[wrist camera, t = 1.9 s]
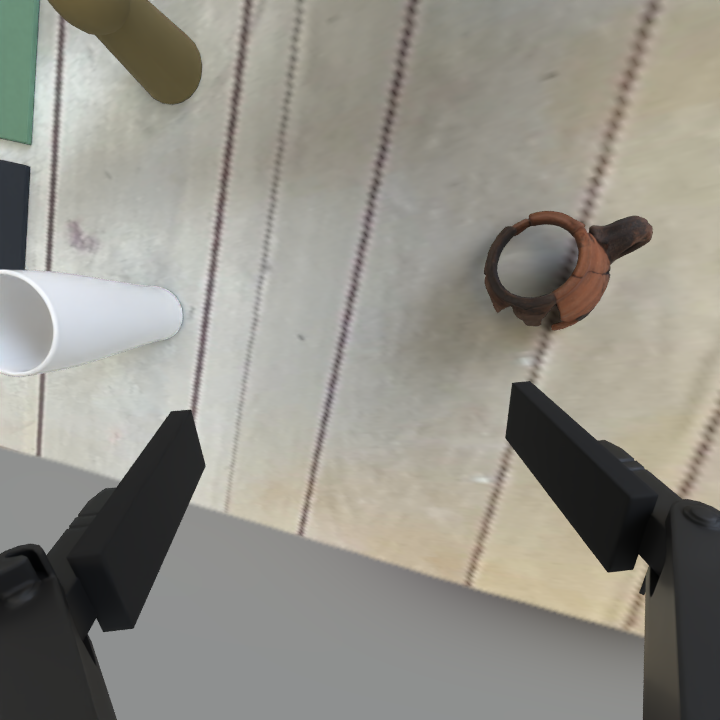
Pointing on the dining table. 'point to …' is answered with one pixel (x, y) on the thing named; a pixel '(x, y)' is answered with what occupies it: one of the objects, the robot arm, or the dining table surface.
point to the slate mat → (13, 214)
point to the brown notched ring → (587, 276)
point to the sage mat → (17, 68)
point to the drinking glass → (77, 319)
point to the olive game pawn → (140, 43)
